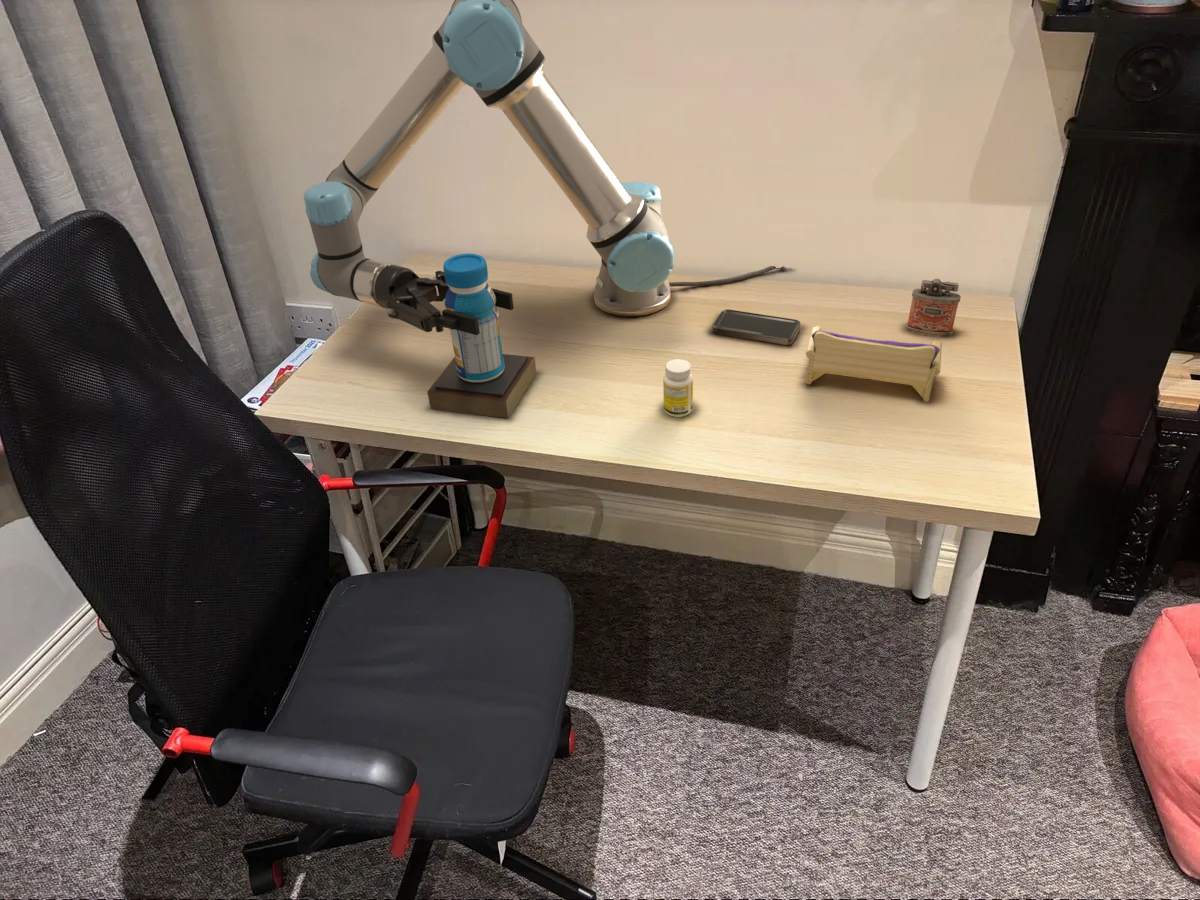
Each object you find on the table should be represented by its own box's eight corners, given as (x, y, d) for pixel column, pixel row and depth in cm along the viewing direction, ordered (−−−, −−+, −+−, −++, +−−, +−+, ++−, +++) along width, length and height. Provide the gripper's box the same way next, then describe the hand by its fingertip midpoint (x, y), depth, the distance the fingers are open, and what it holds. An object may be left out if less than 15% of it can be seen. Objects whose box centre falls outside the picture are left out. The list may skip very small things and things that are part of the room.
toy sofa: (935, 375, 145) (946, 321, 139) (933, 403, 138) (945, 348, 132) (809, 359, 151) (814, 307, 145) (801, 385, 144) (807, 332, 138)
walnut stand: (536, 374, 152) (534, 354, 149) (508, 418, 141) (505, 398, 139) (463, 365, 155) (460, 346, 153) (430, 408, 144) (426, 389, 142)
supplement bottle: (676, 397, 143) (677, 354, 138) (698, 408, 141) (699, 364, 135) (657, 410, 141) (657, 366, 136) (679, 421, 138) (679, 376, 133)
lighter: (904, 332, 157) (914, 282, 151) (906, 323, 159) (916, 274, 153) (951, 338, 154) (963, 288, 148) (953, 330, 156) (964, 279, 150)
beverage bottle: (485, 389, 141) (468, 278, 129) (445, 376, 145) (425, 267, 133) (516, 365, 146) (502, 256, 134) (477, 353, 150) (460, 246, 138)
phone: (723, 308, 165) (801, 320, 159) (723, 313, 165) (801, 325, 160) (711, 327, 159) (791, 340, 154) (710, 333, 160) (790, 346, 154)
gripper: (432, 281, 156) (534, 306, 146) (348, 333, 141) (456, 365, 131) (424, 242, 151) (530, 265, 141) (338, 292, 137) (448, 322, 127)
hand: (494, 313), depth 136 cm, fingers closed on beverage bottle, 8 cm apart
